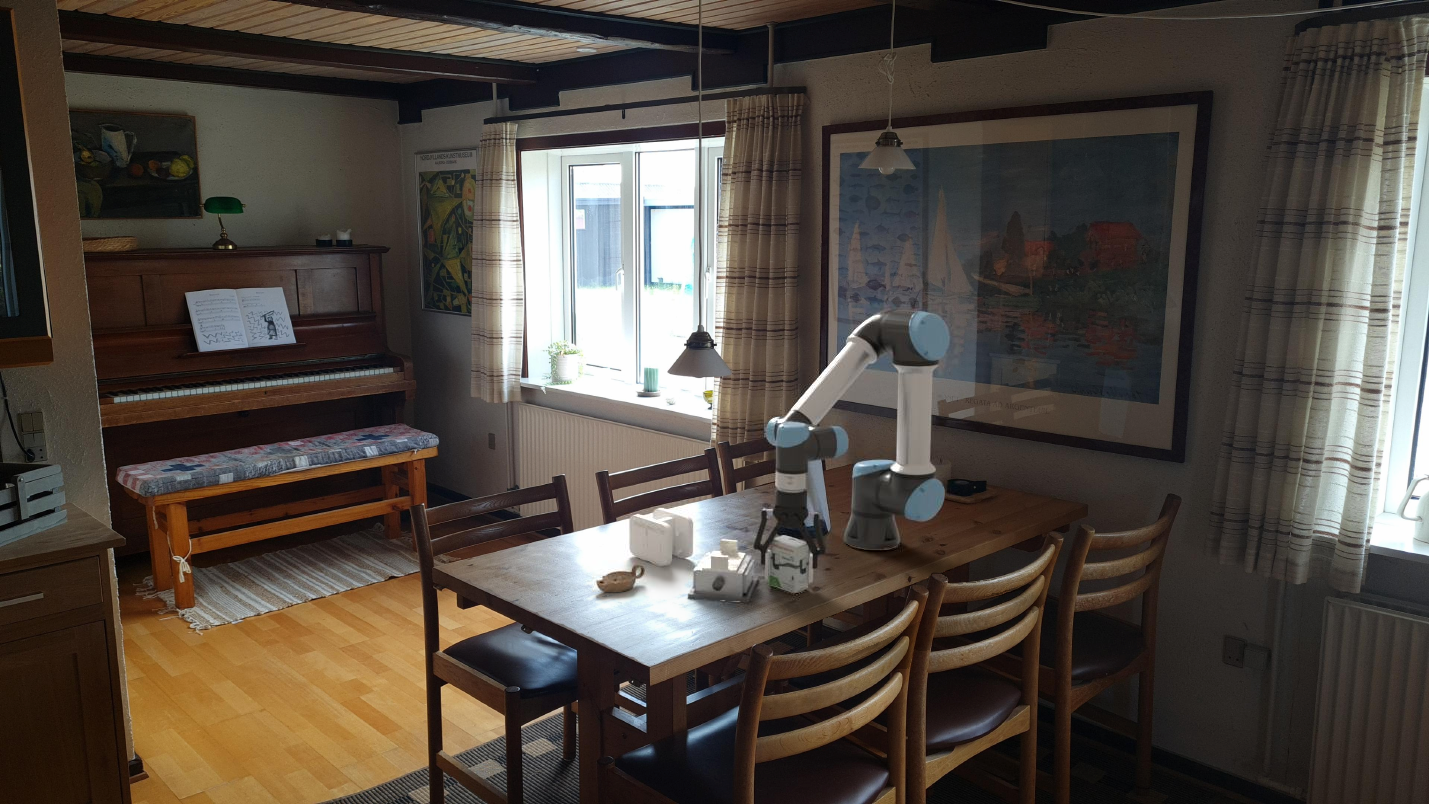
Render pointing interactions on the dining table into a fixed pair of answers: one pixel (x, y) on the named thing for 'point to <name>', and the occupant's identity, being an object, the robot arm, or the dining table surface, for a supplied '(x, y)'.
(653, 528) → the cable organizer
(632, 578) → the oil lamp
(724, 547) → the white boxy piece
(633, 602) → the dining table surface
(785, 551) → the ink box
